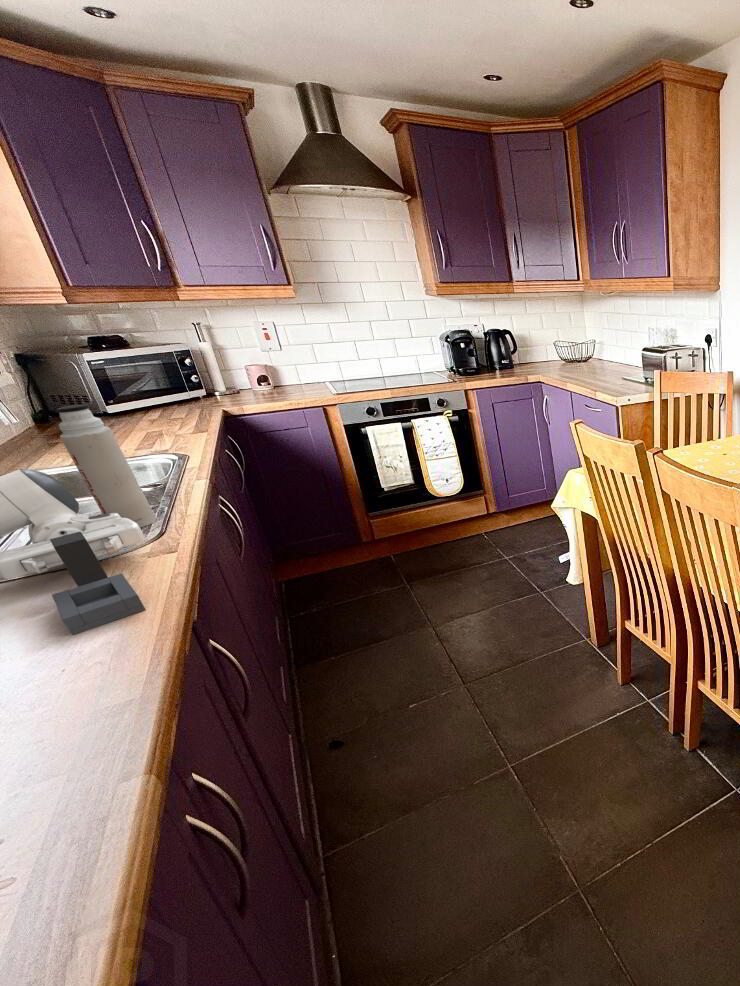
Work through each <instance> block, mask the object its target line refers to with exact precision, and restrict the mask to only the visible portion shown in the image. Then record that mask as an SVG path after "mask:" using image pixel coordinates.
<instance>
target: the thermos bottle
mask: <svg viewBox="0 0 740 986" xmlns="http://www.w3.org/2000/svg"><path fill="white" fill-rule="evenodd" d="M56 412H57V413H58V414H59V418H60V420H61V422H60V423H59V424H58V428H59V430H60V431H61V432H62V434H61V435H59V438H60V440H61V442H62V444H63V446H64V448H65V449H66V451H67V452H68V454H69V456H70V457H71V460H72V461H73V463H74V465H75V467H76V469H77V470H78V472H79V474H80V476H81V477H82V480H83V481H84V483H85V485H86V487H87V488H88V490H89V492H90V494H91V496H92V498H93V500H94V502H95V503H96V504H97V505H96V506H98V509H99V510H100V512H101V515H104V514H111V513H118V514H119V516H120V517H121V518H128V519H130V520H132V521H134V522H135V523H137V524H138V526H139V527H140V529H141V528H144V527H147V526H150V525H152V524H154V523H155V522H156V521H157V517H156V515H155V512H154V511H153V509H152V507H151V505H150V503H149V501H148V500H147V498H146V495H145V494H144V492H143V490H142V489H141V487H140V485H139V483H138V480H137V478H136V476H135V474H134V472H133V470H132V468H131V467H130V464H129V462H128V460H127V459H126V457H125V454H124V453H123V451H122V449H121V446H120V445H119V443H118V440H117V439H116V437H115V435H114V433H113V430H112V429H111V428H110V427H109V426H105V423H104V422H103V420H102V419H101V418H100V417H96V416H94V414H93V413H92V411H91V410H90V405H89V404H85V403H84V404H73V405H65V406H62V407H58V408H56Z"/></svg>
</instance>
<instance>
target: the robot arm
mask: <svg viewBox="0 0 740 986" xmlns="http://www.w3.org/2000/svg"><path fill="white" fill-rule="evenodd" d="M79 509H80V502H78V500H77V499H76V498H75V496H74V495H73V494H72V493H71V492H70V491H69V490H68V489H67V488H66V487H65V486H63V484H62V483H60V482H59V481H57V479H55V478H54V477H52V476H51V475H49V474H47V472H46V473H45V472H43V471H39V470H35V469H30V468H19V469H16V470H13V471H11V472H8V473H6V474H4V475H1V476H0V540H1V539H3V538H4V537H5V536H7V535H9V534H12V533H15V532H16V531H19V530H21V529H23V528H25V527H27V528H28V530H27V531H28V536H29V539H30V541H31V543H29V544H26V545H23V546H19V547H15V548H10V549H7V550H3V551H0V580H1V581H2V580H4V581H5V580H7V581H8V580H12V579H15V578H19V577H22V576H26V575H30V574H33V573H37V574H42V573H45V572H48V571H49V569H50V568H54V567H58V566H62V565H64V563H63V561H62V560H61V558H60V557H59V555H58V553H57V552H56V550H55V548H54V547H53V545H52V543H51V541H50V539H53V538H57V537H61V536H65V535H68V534H72V533H76V532H81V533H82V534H83V536H84V537H85V539H86V540H87V542H88V544H89V546H90V547H91V549H92V551H93V552H94V554H95V556H96V557H97V556H98V555H101V554H104V553H108V554H113V553H115V552H119V549H122V548H126V547H130V546H132V545H136V544H140V543H143V542H144V541H146V536H145V534H144V532H143V530H142V529H141V528H140V527H139V526H138V524H137V523H135V522H134V521H132V520H130V519H128V518H121V517H120V516H119V514H118V513H111V514H104V515H103V514H98V515H91V516H83V515H81V514H80V513H79V512H80V511H79Z"/></svg>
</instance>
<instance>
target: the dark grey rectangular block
mask: <svg viewBox="0 0 740 986" xmlns="http://www.w3.org/2000/svg"><path fill="white" fill-rule="evenodd" d="M50 541H51V543H52V545H53V547H54V548H55V550H56V552H57V553H58V555H59V557H60V558H61V560H62V561H63V563H64V564H63V566H65V568H66V569H67V571H68V573H69V575H70V576H71V578H72V580H73V581H74V583H75V585H76V587H79V586H82V585H86V584H89V583H92V582H95V581H99V580H102V579H105V578H108V577H109V576H108V575H107V573H106V571H105V570H104V568H103V566H102V565H101V563H100V561H99V559H98V558H97V555H96V556H95V554H94V552H93V551H92V549H91V547H90V546H89V544H88V542H87V540H86V539H85V537H84V536H83V534H82V533H81V532H76V533H72V534H68V535H65V536H61V537H57V538H53V539H50Z"/></svg>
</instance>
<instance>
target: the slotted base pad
mask: <svg viewBox="0 0 740 986" xmlns="http://www.w3.org/2000/svg"><path fill="white" fill-rule="evenodd" d="M51 596H52V598H53V600H54V603H55V605H56V607H57V610H58V612H59V615H60V618H61V619H62V621H63V623H64V625H65V626H66V627H67V629H68V631H69V632H70V634H71V635H72V636H74V635H77V634H80V633H83V632H86V631H88V630H92V629H95V628H97V627H101V626H103V625H106V624H109V623H112V622H115V621H117V620H121V619H124V618H127V617H129V616H132V615H136V614H138V613H141V612H144V611H146V608H145V606H144V603H143V601H142V600H141V598H140V596H139V595H138V594H137V592H136V591H135V590H134V588H133V587H132V586H131V584H130V583H129V581H128V579H127V578H126V577H125V576H124V575H123V573H118V574H115V575H112V576H108V578H105V579H102V580H99V581H95V582H92V583H89V584H86V585H82V586H79V587H78V586H76V587H73V588H70V589H66V590H63V591H60V592H57V593H53V594H52V595H51Z"/></svg>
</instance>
